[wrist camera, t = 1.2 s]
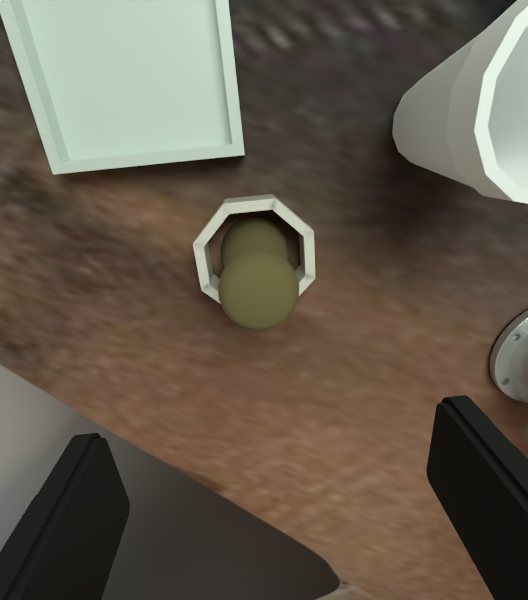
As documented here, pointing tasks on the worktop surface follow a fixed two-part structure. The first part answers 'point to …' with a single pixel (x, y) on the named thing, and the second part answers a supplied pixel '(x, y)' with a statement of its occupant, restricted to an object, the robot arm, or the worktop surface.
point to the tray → (127, 80)
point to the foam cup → (474, 112)
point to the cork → (257, 275)
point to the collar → (251, 204)
